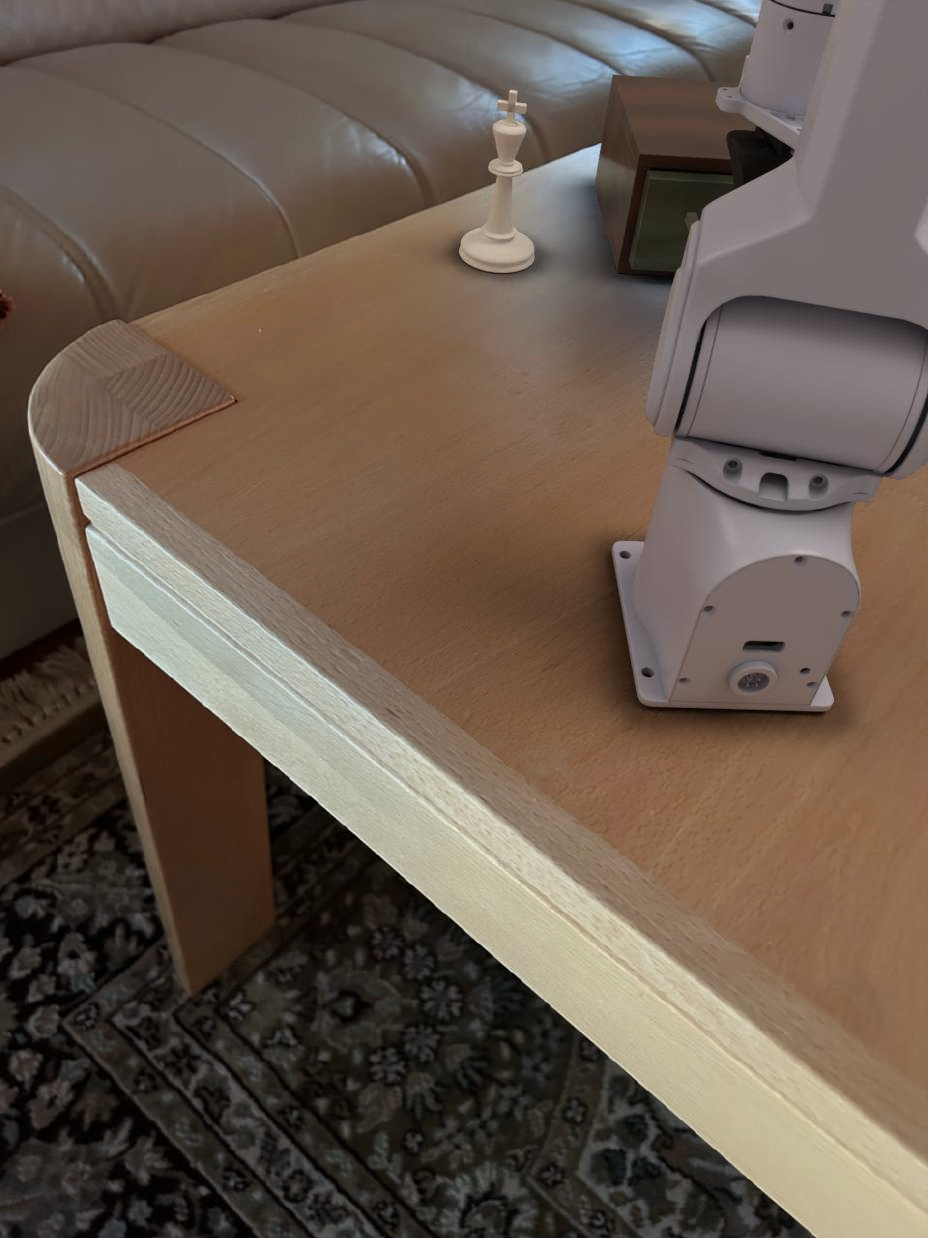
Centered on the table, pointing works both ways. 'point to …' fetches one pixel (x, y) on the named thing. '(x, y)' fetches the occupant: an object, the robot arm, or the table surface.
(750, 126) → the cabinet
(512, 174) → the chess piece
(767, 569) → the robot arm
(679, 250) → the drawer
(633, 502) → the table surface
